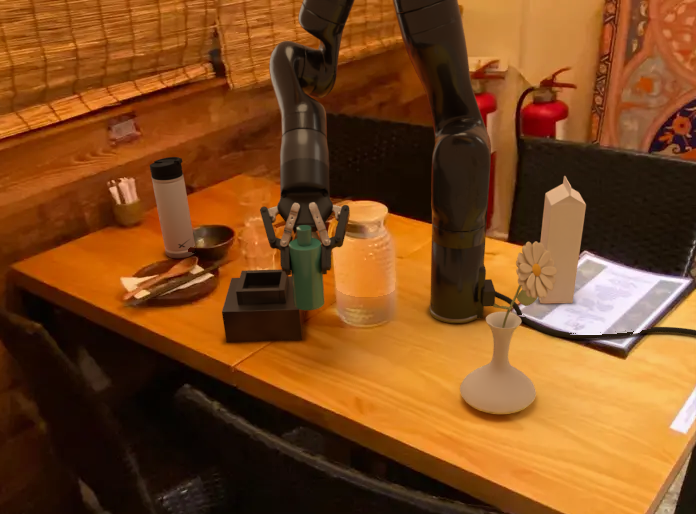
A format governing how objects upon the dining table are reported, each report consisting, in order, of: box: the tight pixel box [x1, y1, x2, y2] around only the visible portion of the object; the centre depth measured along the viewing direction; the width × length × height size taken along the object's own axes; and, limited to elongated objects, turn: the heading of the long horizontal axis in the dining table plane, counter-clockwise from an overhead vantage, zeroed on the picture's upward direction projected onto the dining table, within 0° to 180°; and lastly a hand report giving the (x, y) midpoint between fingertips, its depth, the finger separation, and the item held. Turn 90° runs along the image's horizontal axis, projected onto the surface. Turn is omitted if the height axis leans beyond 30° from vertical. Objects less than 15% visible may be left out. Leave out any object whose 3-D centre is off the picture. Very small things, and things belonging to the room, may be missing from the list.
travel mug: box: [149, 156, 196, 259], centre depth 160 cm, size 6×7×20 cm
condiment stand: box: [221, 268, 306, 343], centre depth 137 cm, size 13×13×8 cm
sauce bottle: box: [289, 225, 326, 311], centre depth 119 cm, size 5×5×12 cm
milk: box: [537, 175, 587, 304], centre depth 140 cm, size 6×6×22 cm
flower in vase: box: [459, 241, 557, 415], centre depth 112 cm, size 13×11×25 cm
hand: (306, 272), depth 117 cm, fingers closed on sauce bottle, 5 cm apart
